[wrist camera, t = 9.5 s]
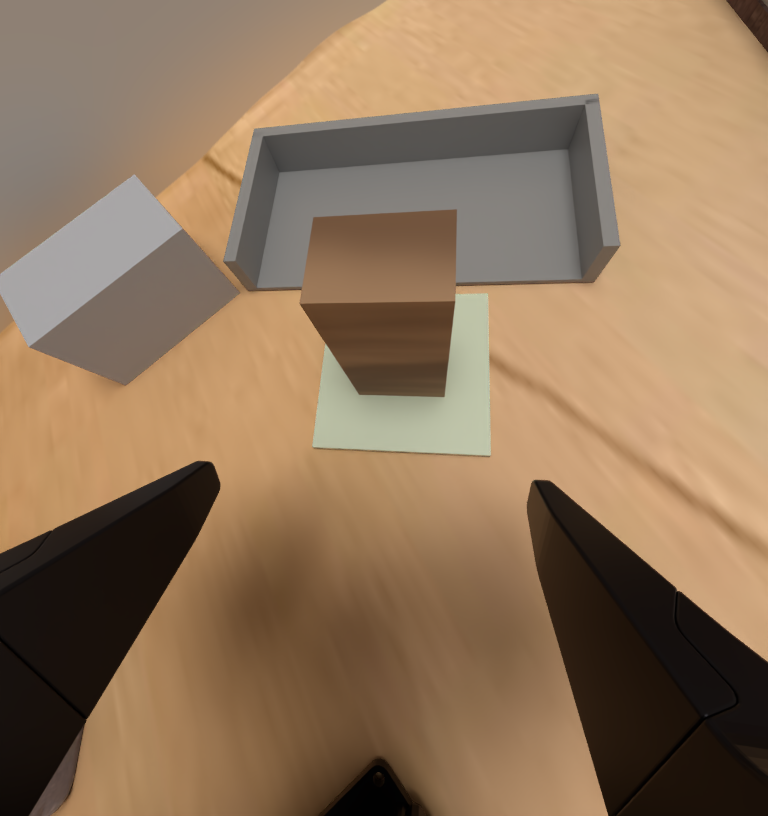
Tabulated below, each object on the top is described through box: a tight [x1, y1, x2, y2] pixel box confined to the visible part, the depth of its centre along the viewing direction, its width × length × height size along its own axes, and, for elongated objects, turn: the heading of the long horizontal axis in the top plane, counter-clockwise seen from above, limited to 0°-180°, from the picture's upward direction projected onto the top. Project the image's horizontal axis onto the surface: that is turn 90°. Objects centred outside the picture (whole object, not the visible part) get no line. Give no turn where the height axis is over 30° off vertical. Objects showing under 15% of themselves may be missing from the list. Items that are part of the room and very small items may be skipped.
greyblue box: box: [0, 175, 240, 385], centre depth 22 cm, size 10×6×6 cm, turn 131°
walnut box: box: [300, 209, 457, 397], centre depth 16 cm, size 4×5×10 cm
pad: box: [312, 293, 491, 457], centre depth 20 cm, size 10×10×1 cm
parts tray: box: [223, 94, 620, 291], centre depth 22 cm, size 11×23×3 cm, turn 86°
